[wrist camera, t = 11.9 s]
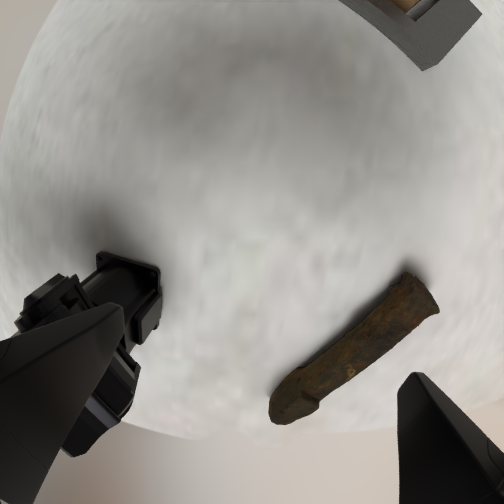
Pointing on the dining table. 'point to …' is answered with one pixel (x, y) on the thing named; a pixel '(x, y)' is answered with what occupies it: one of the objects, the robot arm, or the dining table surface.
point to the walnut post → (405, 4)
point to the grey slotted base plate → (420, 26)
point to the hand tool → (353, 351)
